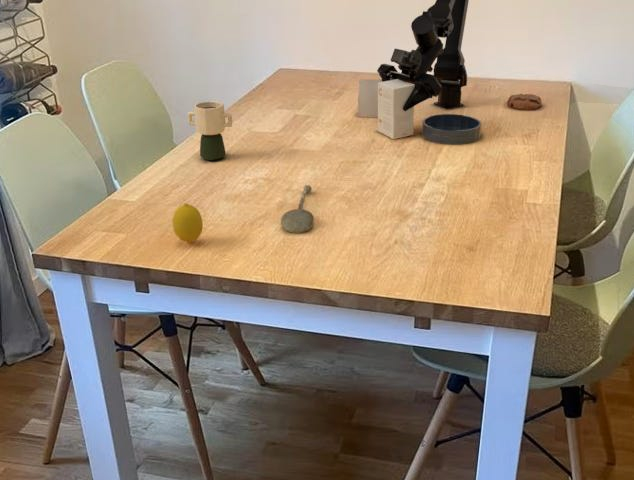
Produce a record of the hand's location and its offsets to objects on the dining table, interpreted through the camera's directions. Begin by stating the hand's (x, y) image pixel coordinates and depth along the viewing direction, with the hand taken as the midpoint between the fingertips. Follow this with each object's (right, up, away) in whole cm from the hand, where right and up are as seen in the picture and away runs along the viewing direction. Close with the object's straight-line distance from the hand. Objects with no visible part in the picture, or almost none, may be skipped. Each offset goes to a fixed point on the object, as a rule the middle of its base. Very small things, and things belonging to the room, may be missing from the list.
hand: (391, 106), depth 200 cm
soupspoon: (-22, -34, -40) cm, 57 cm away
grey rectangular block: (-4, +3, +20) cm, 21 cm away
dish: (+16, -7, +3) cm, 18 cm away
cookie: (+42, +8, +27) cm, 51 cm away
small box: (+2, -6, +5) cm, 8 cm away
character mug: (-45, -16, -11) cm, 49 cm away
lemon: (-43, -42, -53) cm, 80 cm away
